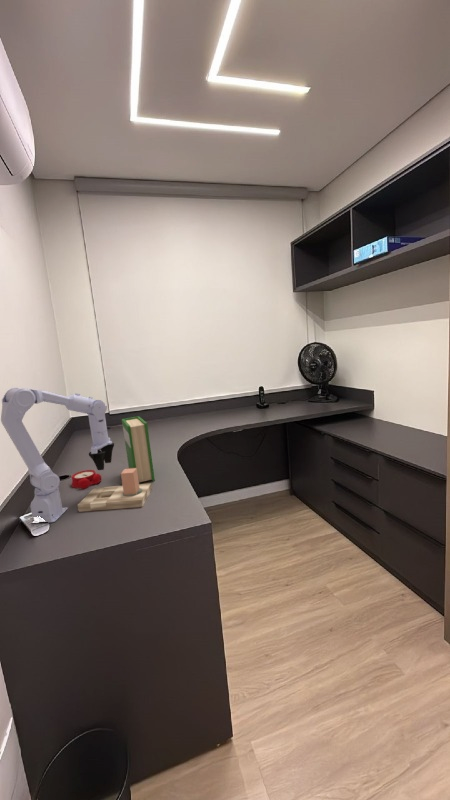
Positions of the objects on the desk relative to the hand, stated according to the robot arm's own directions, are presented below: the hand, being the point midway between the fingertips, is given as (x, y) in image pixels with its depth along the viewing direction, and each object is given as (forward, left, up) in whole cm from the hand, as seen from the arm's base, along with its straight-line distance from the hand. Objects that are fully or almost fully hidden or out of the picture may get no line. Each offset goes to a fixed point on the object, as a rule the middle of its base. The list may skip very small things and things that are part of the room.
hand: (104, 466), depth 131 cm
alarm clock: (+11, +13, -11) cm, 20 cm away
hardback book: (+14, -9, -11) cm, 20 cm away
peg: (-8, -12, -8) cm, 16 cm away
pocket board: (-8, -6, -10) cm, 14 cm away
